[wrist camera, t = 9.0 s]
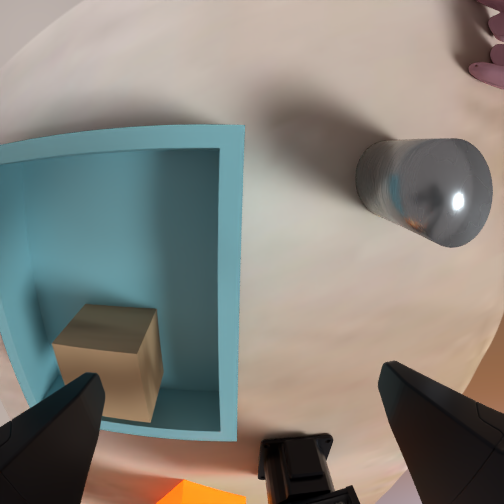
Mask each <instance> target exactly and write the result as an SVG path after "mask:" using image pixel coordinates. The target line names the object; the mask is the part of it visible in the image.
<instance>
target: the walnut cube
mask: <svg viewBox="0 0 504 504" xmlns="http://www.w3.org/2000/svg"><path fill="white" fill-rule="evenodd" d="M52 346H53V349H54V353H55V356H56V360H57V363H58V366H59V369H60V372H61V375H62V378H63V381H64V384H65V385H67V384H68V383H70V382H71V381H73V380H74V379H76V378H77V377H79V376H81V375H82V374H84V373H85V372H92V373H97V374H98V375H99V376H100V379H101V382H102V385H103V388H104V391H105V404H104V409H103V414H102V416H105V417H111V418H118V419H125V420H132V421H140V422H148V423H151V419H152V415H153V411H154V407H155V404H156V400H157V396H158V392H159V388H160V385H161V381H162V377H163V373H164V369H163V362H162V353H161V345H160V336H159V326H158V315H157V309H154V308H136V307H121V306H107V305H94V304H85V305H84V306H83V307H82V308H81V309H80V311H79V312H78V313H77V314H76V315H75V316H74V318H73V319H72V320H71V321H70V322H69V323H68V325H67V326H66V327H65V328H64V329H63V330H62V332H61V333H60V334H59V335H58V336H57V338H56V339H55V340H54V341H53V342H52Z"/></svg>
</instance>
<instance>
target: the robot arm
mask: <svg viewBox="0 0 504 504" xmlns="http://www.w3.org/2000/svg"><path fill="white" fill-rule="evenodd" d="M378 389H379V392H380V395H381V398H382V402H383V405H384V408H385V411H386V415H387V418H388V421H389V424H390V427H391V429H392V432H393V434H394V436H395V438H396V441H397V443H398V445H399V448H400V450H401V452H402V455H403V457H404V460H405V462H406V464H407V467H408V469H409V472H410V474H411V476H412V479H413V481H414V484H415V486H416V489H417V491H418V494H419V496H420V499H421V501H422V504H504V414H503V413H501V412H498V411H496V410H494V409H492V408H489V407H487V406H485V405H483V404H481V403H479V402H476V401H474V400H473V399H470V398H468V397H466V396H464V395H462V394H460V393H458V392H456V391H454V390H452V389H450V388H448V387H446V386H444V385H442V384H440V383H438V382H436V381H434V380H432V379H430V378H428V377H426V376H424V375H422V374H420V373H419V372H417V371H415V370H413V369H411V368H409V367H407V366H405V365H403V364H401V363H399V362H397V361H390V362H385V363H384V364H383V366H382V369H381V373H380V377H379V381H378ZM104 404H105V391H104V388H103V385H102V382H101V379H100V376H99V375H98V374H97V373H92V372H85V373H84V374H82V375H81V376H79V377H77V378H76V379H74V380H73V381H71V382H70V383H68V384H67V385H65V386H64V387H62V388H60V389H59V390H57V391H56V392H54V393H53V394H51V395H50V396H48V397H47V398H45V399H43V400H42V401H40V402H39V403H37V404H36V405H34V406H33V407H31V408H29V409H28V410H26V411H25V412H23V413H22V414H20V415H18V416H17V417H15V418H14V419H12V421H9V422H7V423H6V424H4V425H3V426H1V427H0V504H80V503H81V499H82V495H83V491H84V487H85V483H86V479H87V476H88V472H89V468H90V465H91V461H92V457H93V454H94V450H95V447H96V444H97V440H98V436H99V431H100V425H101V419H102V414H103V409H104ZM332 443H333V437H332V436H331V435H323V436H313V437H303V438H290V439H274V440H264V441H262V442H261V446H260V456H259V466H258V479H260V480H266V488H267V496H268V504H360V502H359V500H358V497H357V495H356V493H355V490H354V488H353V486H352V485H351V486H347V487H346V488H344V489H341V490H337V491H335V489H334V486H333V482H332V479H331V476H330V472H329V469H328V466H327V462H326V460H327V457H328V455H329V452H330V449H331V446H332Z"/></svg>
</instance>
